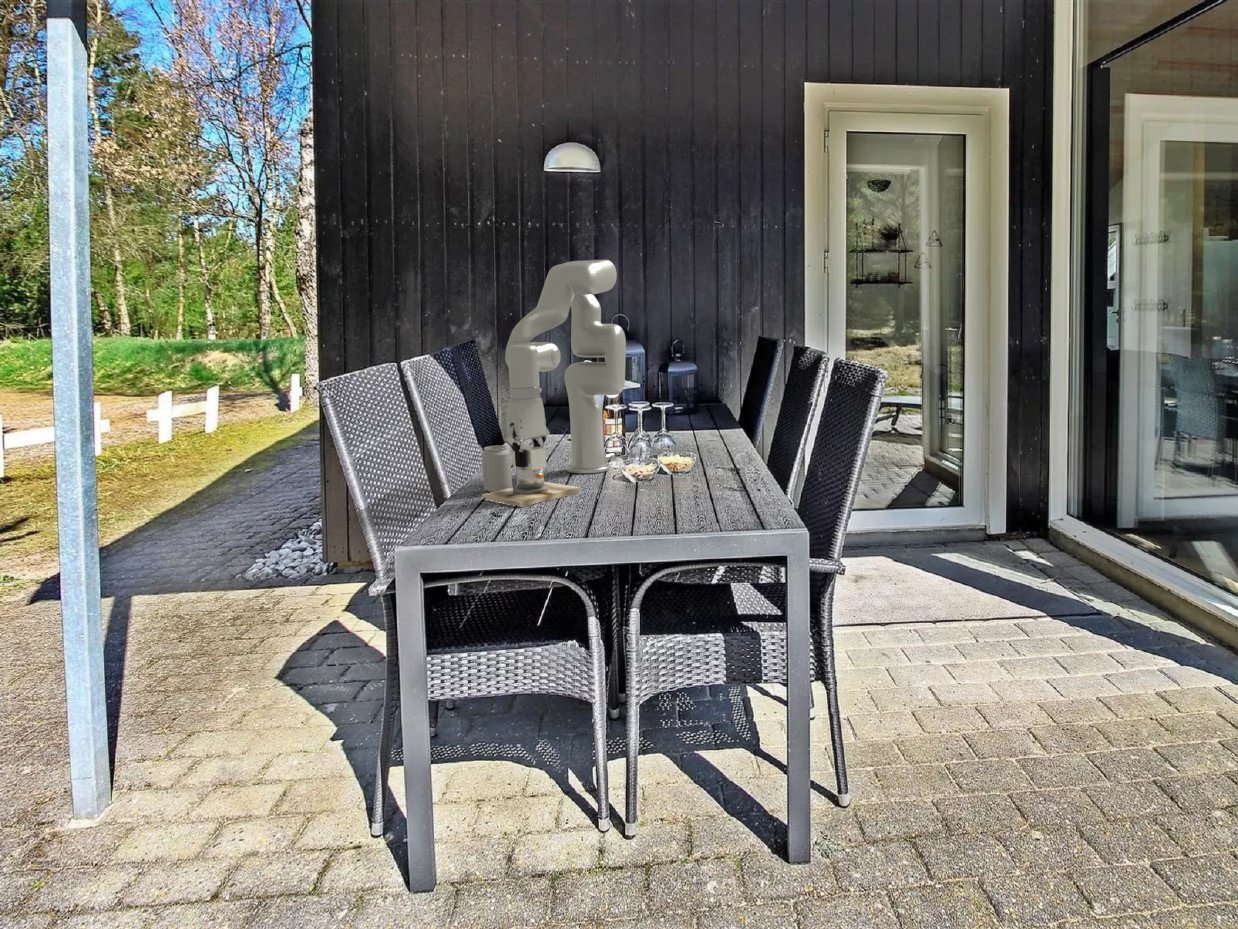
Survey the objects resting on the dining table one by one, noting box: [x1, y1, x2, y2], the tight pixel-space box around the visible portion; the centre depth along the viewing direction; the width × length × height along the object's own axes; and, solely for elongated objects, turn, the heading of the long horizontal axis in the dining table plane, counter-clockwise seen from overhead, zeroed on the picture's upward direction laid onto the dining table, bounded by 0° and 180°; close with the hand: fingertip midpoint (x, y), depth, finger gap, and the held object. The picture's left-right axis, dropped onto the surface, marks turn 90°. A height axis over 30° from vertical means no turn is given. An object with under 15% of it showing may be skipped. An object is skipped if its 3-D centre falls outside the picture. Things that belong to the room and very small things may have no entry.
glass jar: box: [511, 444, 547, 489], centre depth 222 cm, size 10×7×10 cm
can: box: [481, 445, 513, 493], centre depth 231 cm, size 8×8×12 cm
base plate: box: [481, 481, 580, 508], centre depth 224 cm, size 20×15×2 cm
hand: (529, 464), depth 222 cm, fingers open, 5 cm apart
